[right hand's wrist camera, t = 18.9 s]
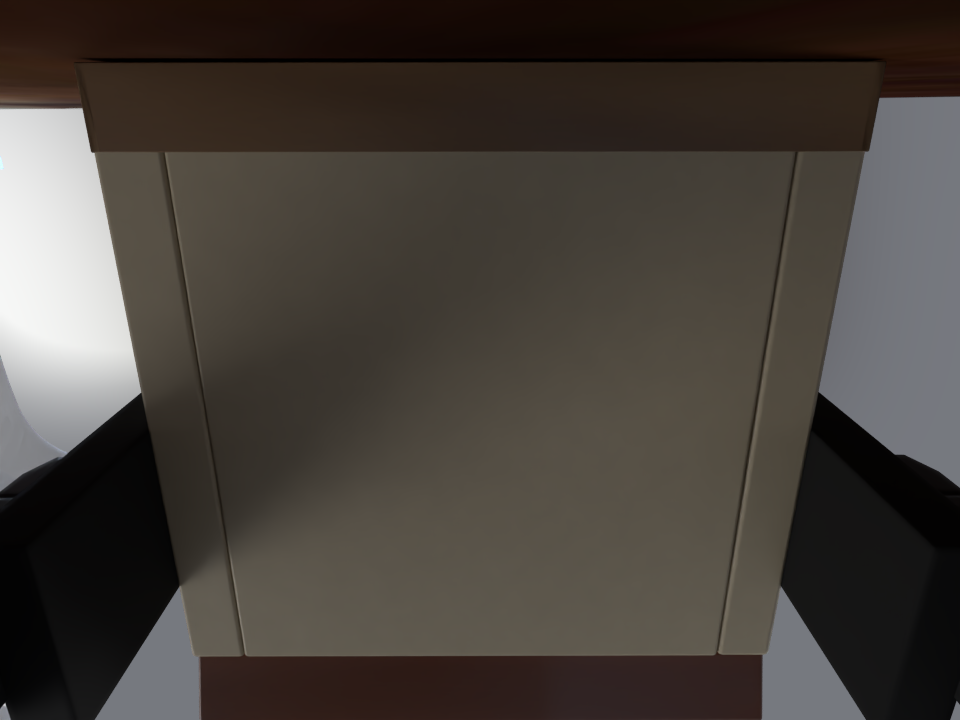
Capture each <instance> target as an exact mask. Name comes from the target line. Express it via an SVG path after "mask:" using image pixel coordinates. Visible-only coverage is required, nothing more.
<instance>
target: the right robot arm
mask: <svg viewBox="0 0 960 720" xmlns="http://www.w3.org/2000/svg"><path fill="white" fill-rule="evenodd" d="M781 587H782V588H783V590H784V591H785V593H786V595H787V596H788V598H789V599H790V601H791V602H792V604H793V606H794V607H795V609H796V610H797V612H798V613H799V615H800V617H801V618H802V620H803V621H804V623H805V624H806V626H807V628H808V629H809V631H810V632H811V634H812V635H813V637H814V638H815V640H816V642H817V643H818V645H819V646H820V648H821V650H822V651H823V653H824V654H825V656H826V657H827V659H828V661H829V662H830V664H831V665H832V667H833V668H834V670H835V672H836V673H837V675H838V676H839V678H840V679H841V681H842V683H843V684H844V686H845V687H846V689H847V690H848V692H849V694H850V695H851V697H852V698H853V700H854V701H855V703H856V705H857V706H858V708H859V709H860V711H861V712H862V714H863V715H864V717H865V719H866V720H950V719H951V716H952V713H953V710H954V707H955V704H956V701H957V702H958V703H959V704H960V488H959V487H958V486H957V485H955V484H954V483H953V482H952V481H950V480H949V479H948V478H946V477H945V476H944V475H943V474H941V473H940V472H939V471H937V470H935V469H932V468H930V467H928V466H926V465H924V464H922V463H920V462H918V461H916V460H914V459H912V458H910V457H908V456H906V455H895V454H893V453H892V452H891V451H890V450H888V449H887V448H886V447H885V446H884V445H882V444H881V443H880V442H879V441H878V440H876V439H875V438H874V437H873V436H871V435H870V434H869V433H868V432H867V431H865V430H864V429H863V428H862V427H860V426H859V425H858V424H857V423H856V422H854V421H853V420H852V419H851V418H850V417H848V416H847V415H846V414H845V413H843V412H842V411H841V410H840V409H839V408H837V407H836V406H835V405H834V404H833V403H831V402H830V401H829V400H828V399H826V398H825V397H824V396H823V395H822V394H820V393H819V392H818V396H817V401H816V407H815V412H814V417H813V422H812V427H811V433H810V438H809V443H808V448H807V453H806V458H805V464H804V469H803V474H802V479H801V484H800V490H799V495H798V500H797V505H796V510H795V515H794V521H793V526H792V531H791V536H790V541H789V546H788V552H787V557H786V562H785V567H784V572H783V578H782V583H781ZM178 588H179V581H178V576H177V571H176V566H175V561H174V556H173V551H172V546H171V540H170V535H169V530H168V525H167V520H166V515H165V510H164V505H163V500H162V494H161V489H160V484H159V479H158V474H157V469H156V464H155V459H154V454H153V449H152V443H151V438H150V433H149V428H148V423H147V418H146V413H145V408H144V403H143V397H142V393H140V394H139V395H138V396H137V397H136V398H134V399H133V400H132V401H131V402H129V403H128V404H127V405H126V406H125V407H123V408H122V409H121V410H120V411H118V412H117V413H116V414H115V415H114V416H112V417H111V418H110V419H109V420H108V421H106V422H105V423H104V424H103V425H101V426H100V427H99V428H98V429H97V430H95V431H94V432H93V433H92V434H91V435H89V436H88V437H87V438H86V439H84V440H83V441H82V442H81V443H80V444H78V445H77V446H76V447H75V448H74V449H72V450H71V451H70V452H69V453H67V454H66V455H65V456H64V457H56V458H54V459H52V460H50V461H48V462H46V463H44V464H42V465H40V466H38V467H36V468H34V469H32V470H30V471H28V472H26V473H24V474H22V475H21V476H19V477H18V478H17V479H16V480H14V481H13V482H12V483H10V484H9V485H8V486H7V487H5V488H4V489H3V490H2V491H0V709H1V707H2V706H3V705H4V704H6V707H7V710H8V713H9V716H10V719H11V720H95V718H96V717H97V715H98V714H99V712H100V710H101V709H102V707H103V706H104V704H105V703H106V701H107V699H108V698H109V696H110V695H111V693H112V691H113V690H114V688H115V687H116V685H117V684H118V682H119V681H120V679H121V677H122V676H123V674H124V673H125V671H126V670H127V668H128V666H129V665H130V663H131V662H132V660H133V658H134V657H135V655H136V654H137V652H138V651H139V649H140V647H141V646H142V644H143V643H144V641H145V640H146V638H147V636H148V635H149V633H150V632H151V630H152V629H153V627H154V625H155V624H156V622H157V621H158V619H159V618H160V616H161V614H162V613H163V611H164V610H165V608H166V607H167V605H168V603H169V602H170V600H171V599H172V597H173V596H174V594H175V592H176V591H177V589H178Z"/></svg>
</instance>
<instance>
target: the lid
mask: <svg viewBox="0 0 960 720" xmlns="http://www.w3.org/2000/svg"><path fill="white" fill-rule="evenodd" d="M199 717H200V720H761V719H762V655H722V654H719V653H718V652H716V654H715V655H622V656H246V655H245V653H244V655H243V656H199Z"/></svg>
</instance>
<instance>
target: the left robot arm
mask: <svg viewBox="0 0 960 720" xmlns="http://www.w3.org/2000/svg"><path fill="white" fill-rule="evenodd" d="M0 169H3V165H2V161H1V157H0ZM66 454H67V452H65V451H62V450H60V449H58V448H56V447H55V446H53V445H51V444H50V443H48V442H47V441H46V440H44V439H43V438H42V437H41V436H40V435H39V434H38V433H37V432H36V431H35V430H34V429H33V428H32V427H31V425H30V424H29V423H28V422H27V420H26V419H25V417H24V416H23V414H22V412H21V410H20V408H19V406H18V404H17V402H16V399H15V396H14V394H13V391H12V388H11V386H10V383H9V380H8V378H7V375H6V372H5V369H4V366H3V363H2V360H1V356H0V491H2V490H3V489H4V488H5V487H7V486H8V485H9V484H10V483H12V482H13V481H14V480H16V479H17V478H18V477H19V476H21V475H22V474H24V473H26V472H28V471H30V470H32V469H34V468H36V467H38V466H40V465H42V464H44V463H46V462H48V461H50V460H52V459H54V458H56V457H64V456H65V455H66ZM0 720H11V719H10V716H9V713H8V710H7V707H6V704H4V705H3V706H2V707H1V709H0Z"/></svg>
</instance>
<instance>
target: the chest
mask: <svg viewBox="0 0 960 720" xmlns="http://www.w3.org/2000/svg"><path fill="white" fill-rule="evenodd" d="M885 66H886V61H673V62H74V67H75V72H76V77H77V83H78V88H79V93H80V98H81V103H82V108H83V113H84V118H85V123H86V128H87V133H88V138H89V143H90V148H91V152H92V153H95V157H96V163H97V168H98V173H99V178H100V183H101V188H102V193H103V198H104V203H105V208H106V213H107V219H108V224H109V229H110V234H111V239H112V244H113V249H114V254H115V260H116V265H117V270H118V275H119V280H120V285H121V290H122V295H123V300H124V306H125V311H126V316H127V320H128V326H129V331H130V336H131V341H132V346H133V351H134V357H135V362H136V367H137V372H138V377H139V382H140V387H141V392H142V397H143V403H144V408H145V413H146V418H147V423H148V428H149V433H150V438H151V443H152V449H153V454H154V459H155V464H156V469H157V474H158V479H159V484H160V489H161V494H162V500H163V505H164V510H165V515H166V520H167V525H168V530H169V535H170V540H171V546H172V551H173V556H174V561H175V566H176V571H177V576H178V581H179V586H180V592H181V597H182V602H183V607H184V612H185V617H186V622H187V627H188V632H189V637H190V643H191V648H192V653H193V655H194V656H243V655H244V653H245V655H246V656H622V655H715V654H716V652H718V653H719V654H722V655H764V654H767V652H768V650H769V645H770V640H771V634H772V629H773V624H774V619H775V614H776V609H777V603H778V598H779V593H780V588H781V583H782V578H783V572H784V567H785V562H786V557H787V552H788V546H789V541H790V536H791V531H792V526H793V521H794V515H795V510H796V505H797V500H798V495H799V490H800V484H801V479H802V474H803V469H804V464H805V458H806V453H807V448H808V443H809V438H810V433H811V427H812V422H813V417H814V412H815V407H816V401H817V396H818V391H819V386H820V381H821V376H822V370H823V365H824V360H825V355H826V350H827V345H828V339H829V334H830V329H831V324H832V319H833V313H834V308H835V303H836V298H837V293H838V288H839V282H840V277H841V272H842V267H843V262H844V256H845V251H846V246H847V241H848V236H849V230H850V225H851V220H852V215H853V210H854V205H855V199H856V194H857V189H858V184H859V179H860V174H861V168H862V163H863V158H864V153H865V152H868V151H869V148H870V143H871V138H872V133H873V128H874V123H875V118H876V112H877V107H878V102H879V97H880V92H881V87H882V82H883V77H884V71H885Z"/></svg>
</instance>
